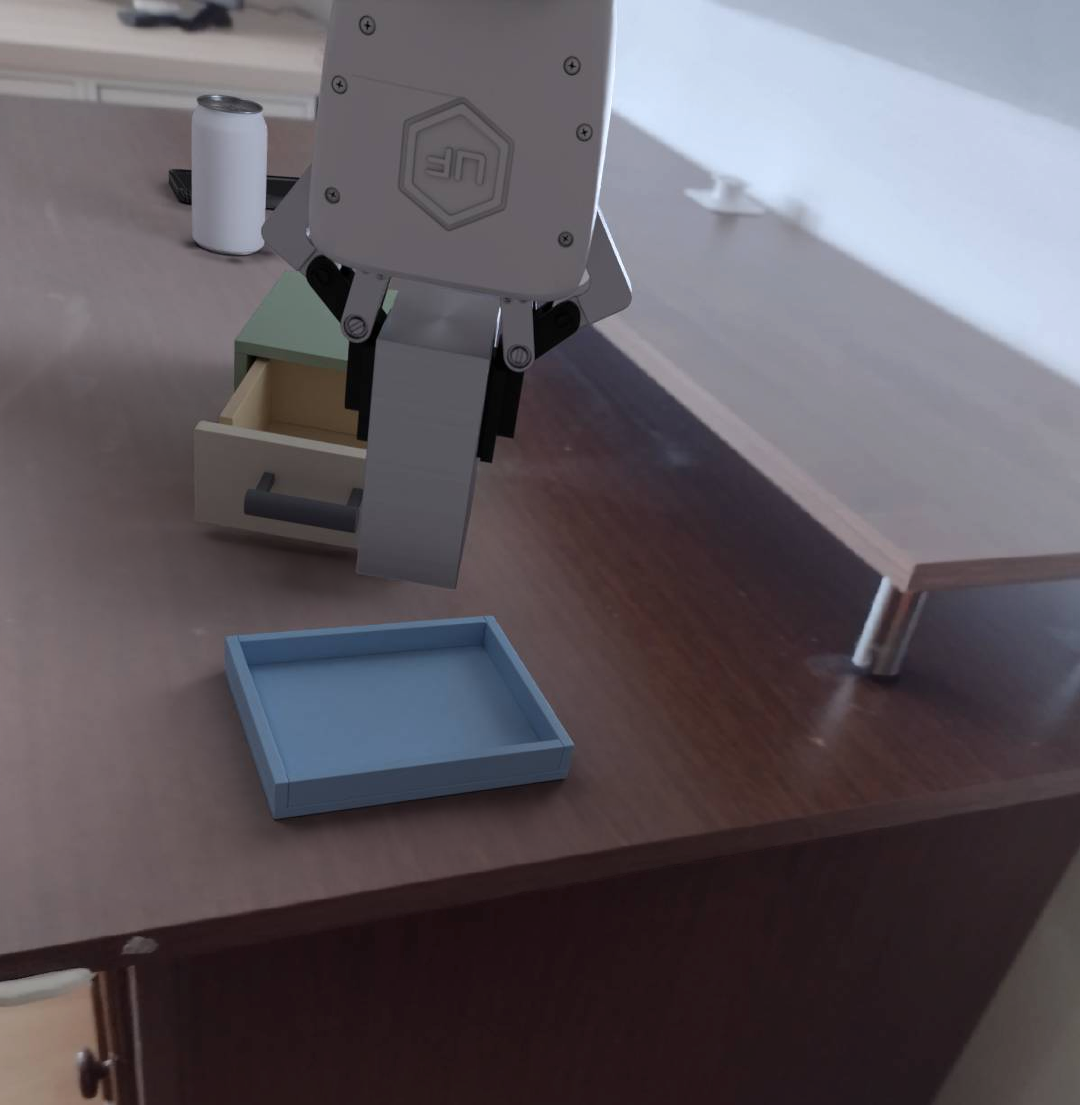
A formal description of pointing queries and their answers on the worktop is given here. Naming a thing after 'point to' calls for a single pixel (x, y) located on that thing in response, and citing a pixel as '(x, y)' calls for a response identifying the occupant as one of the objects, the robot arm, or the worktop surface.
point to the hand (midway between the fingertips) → (429, 434)
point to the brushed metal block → (425, 433)
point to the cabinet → (293, 329)
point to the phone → (274, 186)
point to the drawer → (283, 457)
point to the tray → (390, 714)
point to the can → (228, 174)
